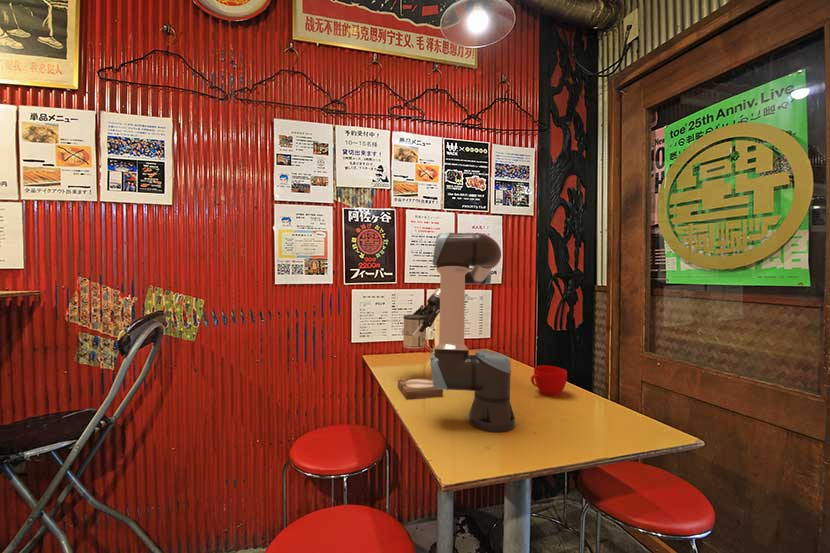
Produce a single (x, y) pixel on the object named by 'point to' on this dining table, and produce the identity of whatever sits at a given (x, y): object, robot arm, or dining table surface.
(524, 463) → the dining table surface
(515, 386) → the dining table surface
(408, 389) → the base
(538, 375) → the ceramic cup
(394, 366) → the dining table surface
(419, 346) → the coffee can
